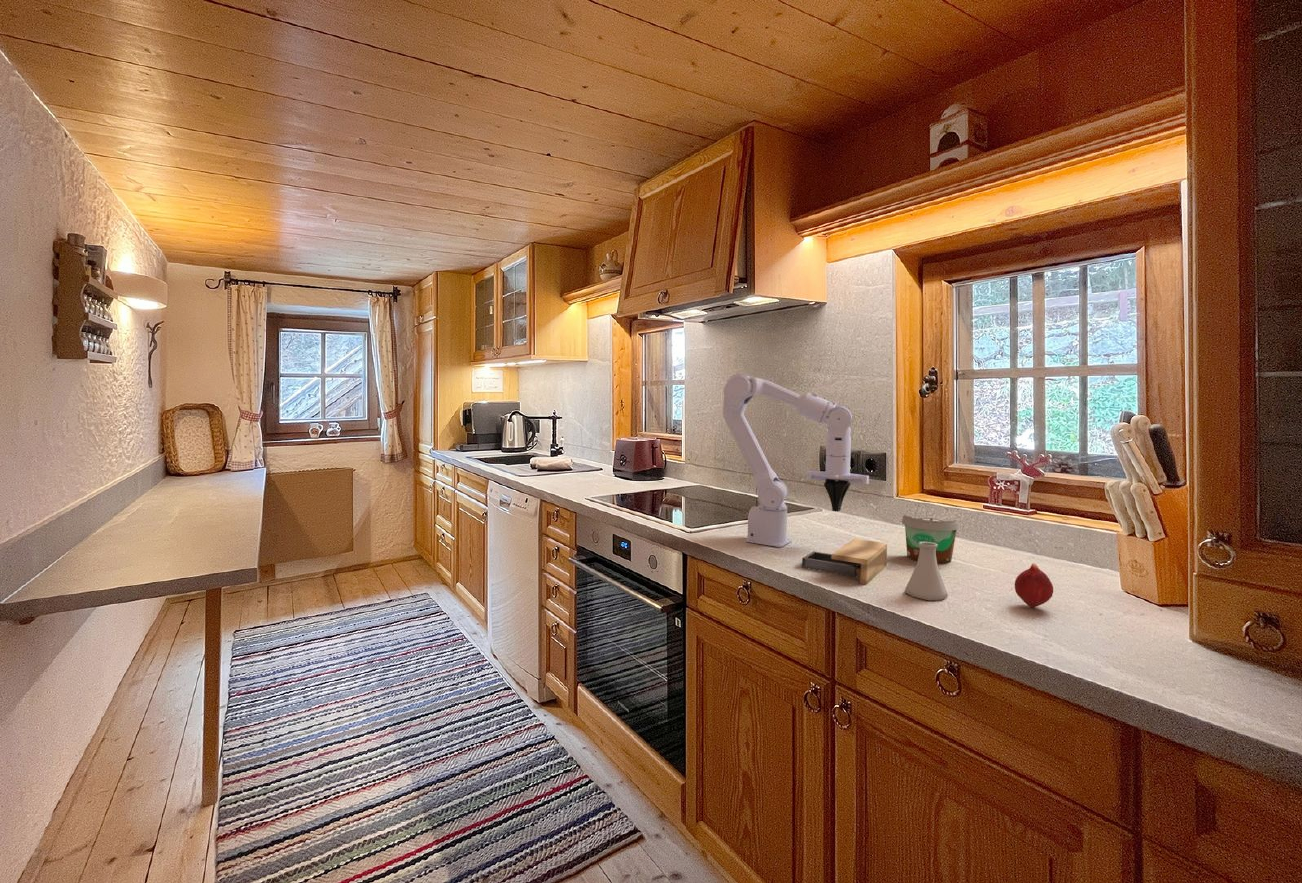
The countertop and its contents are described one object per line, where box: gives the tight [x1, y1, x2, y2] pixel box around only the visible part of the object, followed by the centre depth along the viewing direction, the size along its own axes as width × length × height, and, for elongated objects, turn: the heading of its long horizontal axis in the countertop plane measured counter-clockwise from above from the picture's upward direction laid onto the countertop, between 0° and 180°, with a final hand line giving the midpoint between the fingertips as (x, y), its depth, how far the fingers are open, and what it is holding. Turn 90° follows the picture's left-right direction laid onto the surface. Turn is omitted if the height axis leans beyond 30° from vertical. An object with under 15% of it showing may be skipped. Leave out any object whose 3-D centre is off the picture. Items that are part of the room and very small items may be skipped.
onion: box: [1014, 562, 1054, 608], centre depth 107 cm, size 6×6×8 cm
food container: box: [901, 513, 961, 565], centre depth 136 cm, size 12×6×10 cm, turn 62°
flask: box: [903, 542, 949, 601], centre depth 113 cm, size 7×7×10 cm
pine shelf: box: [831, 538, 888, 585], centre depth 128 cm, size 7×16×5 cm, turn 145°
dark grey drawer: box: [801, 551, 861, 578], centre depth 130 cm, size 12×7×2 cm, turn 55°
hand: (836, 510), depth 147 cm, fingers closed
